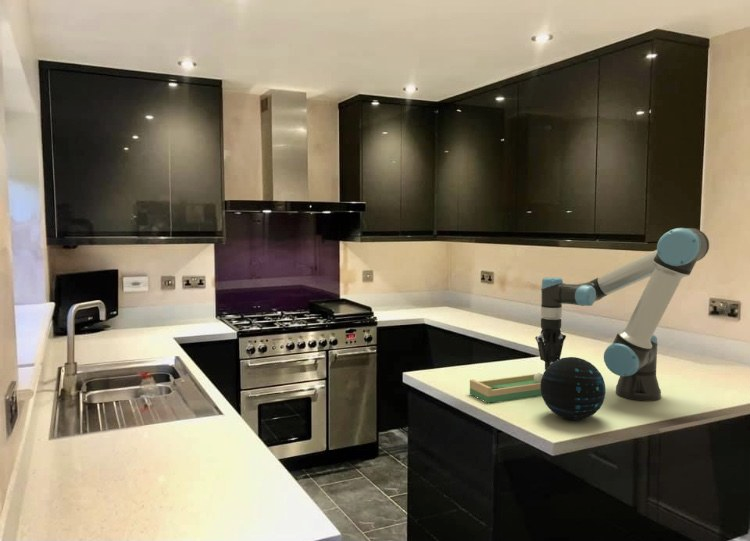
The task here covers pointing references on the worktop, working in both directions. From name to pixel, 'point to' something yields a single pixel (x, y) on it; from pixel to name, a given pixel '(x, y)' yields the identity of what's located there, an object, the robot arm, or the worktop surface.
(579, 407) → the decorative sphere
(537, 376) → the ball
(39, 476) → the worktop surface
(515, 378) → the tray
